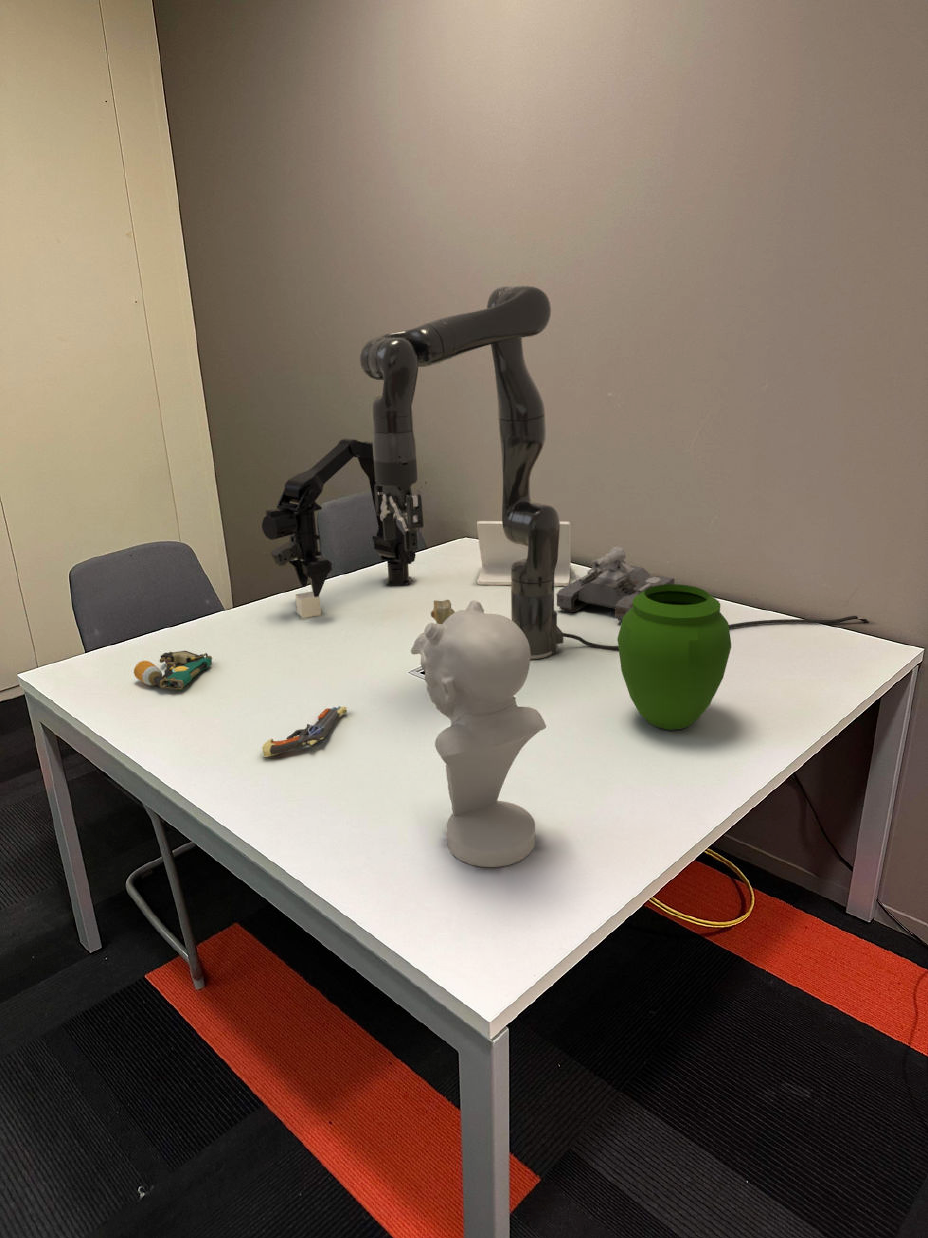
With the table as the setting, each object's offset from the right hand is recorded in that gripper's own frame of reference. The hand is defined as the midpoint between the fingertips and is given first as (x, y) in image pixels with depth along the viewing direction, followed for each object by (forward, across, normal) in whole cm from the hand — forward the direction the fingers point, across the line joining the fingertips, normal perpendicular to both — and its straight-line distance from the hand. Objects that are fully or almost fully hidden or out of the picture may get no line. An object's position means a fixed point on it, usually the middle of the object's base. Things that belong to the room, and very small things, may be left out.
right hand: (400, 545), depth 156 cm
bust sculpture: (+31, +44, -14) cm, 56 cm away
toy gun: (+31, +3, -23) cm, 39 cm away
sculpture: (+32, -8, +12) cm, 35 cm away
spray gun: (+31, -38, -36) cm, 61 cm away
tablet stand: (+32, -51, +64) cm, 88 cm away
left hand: (+26, -57, +2) cm, 63 cm away
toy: (+32, -18, +68) cm, 77 cm away
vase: (+32, +35, +35) cm, 59 cm away
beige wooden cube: (+31, -58, +2) cm, 66 cm away
